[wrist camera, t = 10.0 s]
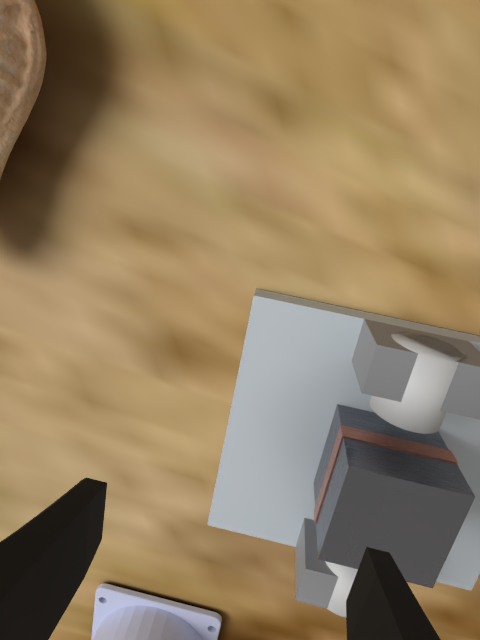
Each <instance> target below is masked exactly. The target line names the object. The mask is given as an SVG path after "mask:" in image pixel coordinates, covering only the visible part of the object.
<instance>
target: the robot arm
mask: <svg viewBox="0 0 480 640" xmlns="http://www.w3.org/2000/svg"><path fill="white" fill-rule="evenodd" d="M106 489H107V483H105V482H101V481H97V480H93V479H89V478H85V479H83V480H81V481H80V482H79V483H78V484H77V485H75V486H74V487H73V488H72V489H70V490H69V491H68V492H67V493H65V494H64V495H63V496H62V497H60V498H59V499H58V500H57V501H55V502H54V503H53V504H51V505H50V506H49V507H48V508H46V509H45V510H44V511H42V512H41V513H40V514H38V515H37V516H36V517H34V518H33V519H32V520H30V521H29V522H28V523H26V524H25V525H24V526H22V527H21V528H20V529H18V530H17V531H16V532H14V533H13V534H11V535H10V536H8V537H7V538H6V539H4V540H3V541H1V542H0V640H48V639H49V638H50V636H51V634H52V632H53V631H54V629H55V627H56V626H57V624H58V622H59V620H60V619H61V617H62V615H63V614H64V612H65V610H66V608H67V607H68V605H69V603H70V602H71V600H72V598H73V596H74V595H75V593H76V591H77V589H78V588H79V586H80V584H81V582H82V581H83V579H84V577H85V575H86V573H87V571H88V568H89V566H90V564H91V562H92V560H93V558H94V555H95V553H96V551H97V549H98V546H99V544H100V542H101V540H102V531H103V520H104V510H105V499H106ZM346 620H347V640H440V638H439V636H438V635H437V633H436V631H435V630H434V628H433V627H432V625H431V623H430V622H429V620H428V618H427V617H426V615H425V613H424V612H423V610H422V608H421V606H420V605H419V603H418V601H417V600H416V598H415V596H414V594H413V593H412V591H411V589H410V587H409V586H408V584H407V582H406V580H405V579H404V577H403V575H402V573H401V571H400V570H399V568H398V566H397V564H396V563H395V561H394V559H393V557H392V556H391V554H390V553H389V552H385V551H381V550H377V549H373V548H369V547H366V550H365V552H364V555H363V558H362V560H361V563H360V566H359V568H358V571H357V573H356V576H355V579H354V581H353V584H352V587H351V589H350V592H349V595H348V597H347V600H346ZM221 622H222V617H221V616H220V615H219V614H218V613H216V612H213V611H209V610H205V609H202V608H198V607H194V606H190V605H186V604H183V603H179V602H175V601H171V600H167V599H163V598H160V597H156V596H152V595H148V594H144V593H140V592H137V591H133V590H129V589H125V588H121V587H118V586H114V585H110V584H106V583H103V584H100V585H99V586H98V588H97V590H96V596H95V606H94V617H93V627H92V638H91V640H217V639H218V635H219V631H220V627H221Z"/></svg>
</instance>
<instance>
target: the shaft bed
mask: <svg viewBox="0 0 480 640" xmlns="http://www.w3.org/2000/svg"><path fill="white" fill-rule="evenodd" d="M337 404H340V405H344V406H348V407H353V408H357V409H362V410H366V411H370V412H375V413H376V414H377V415H378V416H380V417H381V418H382V419H384V420H385V421H387V422H389V423H390V424H392V425H394V426H397V427H399V428H402V429H404V430H407V431H411V432H416V433H422V434H430V433H435V432H437V431H438V432H439V433H440V435H441V437H442V439H443V441H444V442H445V444H446V446H447V448H448V449H449V450H451V451H452V453H453V454H454V456H455V458H456V460H457V461H458V467H459V469H460V470H461V472H462V474H463V476H464V478H465V479H466V481H467V483H468V485H469V486H470V488H471V490H472V492H473V493H474V495H475V499H474V501H473V503H472V505H471V507H470V510H469V512H468V514H467V516H466V518H465V520H464V522H463V525H462V527H461V529H460V531H459V533H458V535H457V537H456V539H455V542H454V544H453V546H452V548H451V550H450V552H449V554H448V557H447V559H446V561H445V563H444V565H443V567H442V569H441V571H440V574H439V576H438V578H437V580H436V582H438V583H442V584H446V585H450V586H454V587H458V588H463V589H467V590H472V588H473V586H474V584H475V582H476V580H477V578H478V576H479V574H480V336H477V335H472V334H468V333H463V332H458V331H454V330H449V329H444V328H439V327H435V326H430V325H425V324H421V323H416V322H411V321H406V320H402V319H397V318H392V317H388V316H383V315H378V314H374V313H369V312H364V311H359V310H355V309H350V308H345V307H341V306H336V305H331V304H326V303H322V302H317V301H312V300H308V299H303V298H298V297H293V296H289V295H284V294H279V293H275V292H270V291H265V290H261V289H256V291H255V294H254V298H253V303H252V308H251V312H250V317H249V322H248V327H247V332H246V337H245V342H244V347H243V352H242V357H241V362H240V367H239V372H238V377H237V381H236V386H235V391H234V396H233V401H232V406H231V411H230V416H229V421H228V426H227V431H226V436H225V441H224V446H223V450H222V455H221V460H220V465H219V470H218V475H217V480H216V485H215V490H214V495H213V500H212V505H211V510H210V514H209V519H208V524H207V525H210V526H214V527H218V528H222V529H226V530H230V531H234V532H238V533H242V534H246V535H250V536H254V537H258V538H262V539H266V540H270V541H274V542H278V543H282V544H286V545H290V546H294V547H296V571H295V600H296V601H300V602H304V603H308V604H311V605H315V606H319V607H323V608H327V609H328V610H330V611H331V612H333V613H335V614H337V615H339V616H342V617H346V600H347V597H348V595H349V592H350V589H351V587H352V584H353V581H354V579H355V576H356V573H357V571H358V569H354V568H350V567H346V566H342V565H338V564H335V563H331V562H327V561H323V560H319V559H318V550H317V533H316V524H315V523H314V508H315V498H314V479H315V476H316V472H317V469H318V466H319V463H320V459H321V456H322V453H323V449H324V446H325V443H326V439H327V436H328V433H329V429H330V426H331V423H332V419H333V416H334V413H335V410H336V406H337Z"/></svg>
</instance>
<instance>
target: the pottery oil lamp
mask: <svg viewBox="0 0 480 640" xmlns="http://www.w3.org/2000/svg"><path fill="white" fill-rule="evenodd" d="M46 55H47V53H46V46H45V38H44V31H43V26H42V20H41V16H40V14H39V10H38V8H37V5H36V2H35V0H0V180H1V177H2V173H3V170H4V167H5V165H6V162H7V160H8V157H9V155H10V153H11V151H12V149H13V146H14V144H15V142H16V140H17V139H18V137H19V134H20V132H21V130H22V128H23V126H24V125H25V123H26V121H27V119H28V117H29V114H30V112H31V110H32V108H33V106H34V104H35V102H36V99H37V97H38V94H39V92H40V89H41V86H42V82H43V78H44V72H45V65H46Z"/></svg>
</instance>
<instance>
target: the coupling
mask: <svg viewBox="0 0 480 640" xmlns="http://www.w3.org/2000/svg"><path fill="white" fill-rule="evenodd" d="M314 498H315V508H314V523H315V524H316V533H317V550H318V559H319V560H323V561H327V562H331V563H335V564H338V565H342V566H346V567H350V568H354V569H358V568H359V566H360V563H361V560H362V558H363V555H364V552H365V550H366V547H369V548H373V549H377V550H381V551H385V552H389V553H390V554H391V556H392V557H393V559H394V561H395V563H396V564H397V566H398V568H399V570H400V571H401V573H402V575H403V577H404V579H405V580H406V582H410V583H414V584H418V585H422V586H426V587H430V588H433V586H434V584H435V582H436V580H437V578H438V576H439V574H440V571H441V569H442V567H443V565H444V563H445V561H446V559H447V557H448V554H449V552H450V550H451V548H452V546H453V544H454V542H455V539H456V537H457V535H458V533H459V531H460V529H461V527H462V525H463V522H464V520H465V518H466V516H467V514H468V512H469V510H470V507H471V505H472V503H473V501H474V499H475V495H474V493H473V492H472V490H471V488H470V486H469V485H468V483H467V481H466V479H465V478H464V476H463V474H462V472H461V470H460V469H459V467H458V461H457V460H456V458H455V456H454V454H453V453H452V451H451V450H449V449H448V448H447V446H446V444H445V442H444V441H443V439H442V437H441V435H440V433H439V432H438V431H437V432H435V433H430V434H422V433H416V432H411V431H407V430H404V429H402V428H399V427H397V426H394V425H392V424H390V423H389V422H387V421H385V420H384V419H382V418H381V417H380V416H378V415H377V414H376V413H375V412H370V411H366V410H362V409H357V408H353V407H348V406H344V405H340V404H337V406H336V410H335V413H334V416H333V419H332V423H331V426H330V429H329V433H328V436H327V439H326V443H325V446H324V449H323V453H322V456H321V459H320V463H319V466H318V469H317V472H316V476H315V479H314Z"/></svg>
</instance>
